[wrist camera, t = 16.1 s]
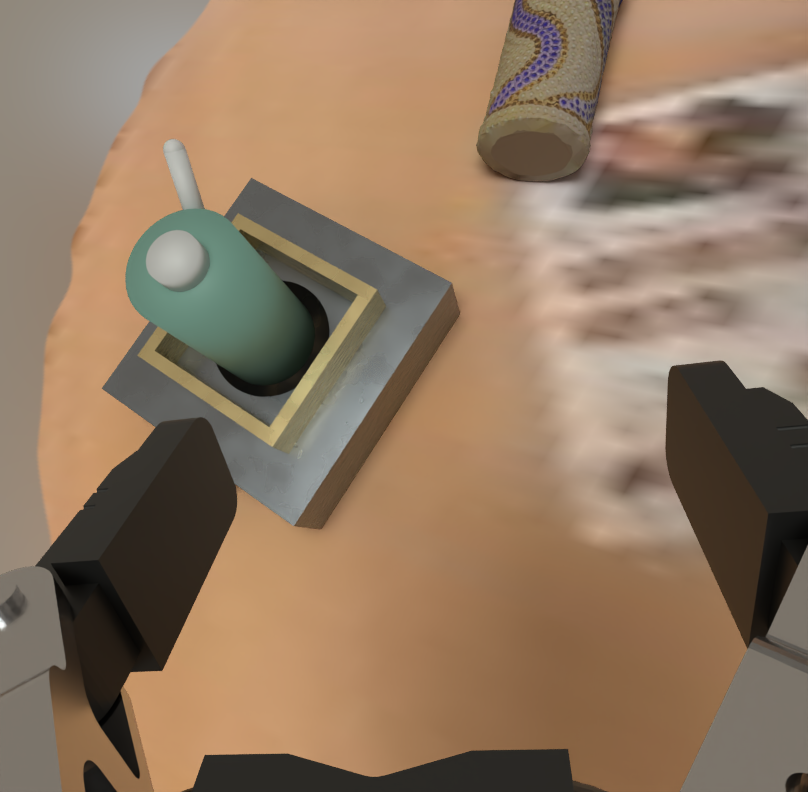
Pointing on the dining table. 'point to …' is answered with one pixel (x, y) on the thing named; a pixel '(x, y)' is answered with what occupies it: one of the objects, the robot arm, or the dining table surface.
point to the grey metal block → (323, 371)
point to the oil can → (216, 289)
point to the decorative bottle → (547, 88)
